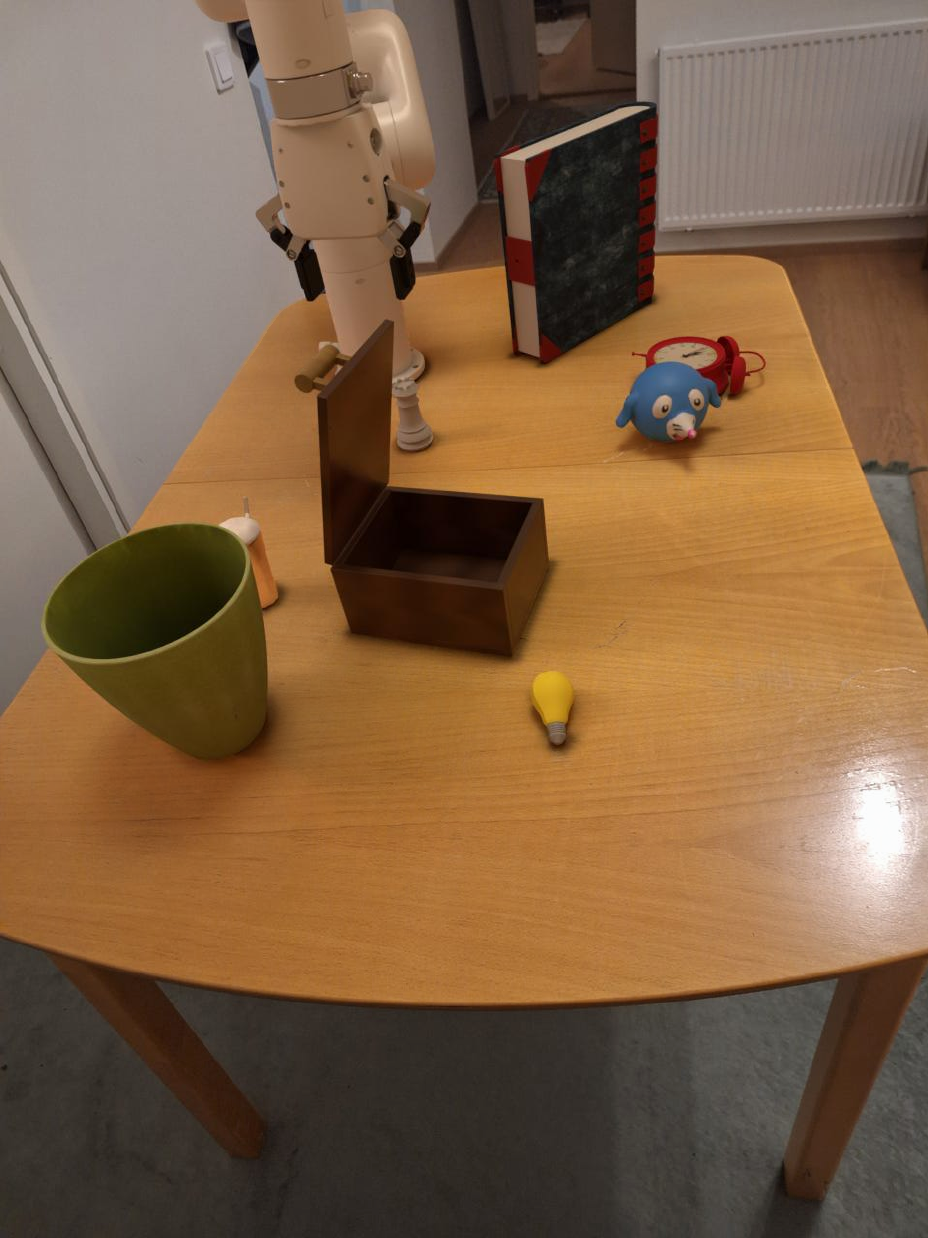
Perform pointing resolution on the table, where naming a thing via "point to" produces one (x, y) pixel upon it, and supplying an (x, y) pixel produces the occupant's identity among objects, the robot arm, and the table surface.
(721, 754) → the table surface
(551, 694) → the light bulb
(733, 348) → the alarm clock
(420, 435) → the rook chess piece
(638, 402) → the blue dog toy
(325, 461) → the lid
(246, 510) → the milkshake
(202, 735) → the flower pot
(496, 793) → the table surface
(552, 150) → the book
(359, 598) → the chest
